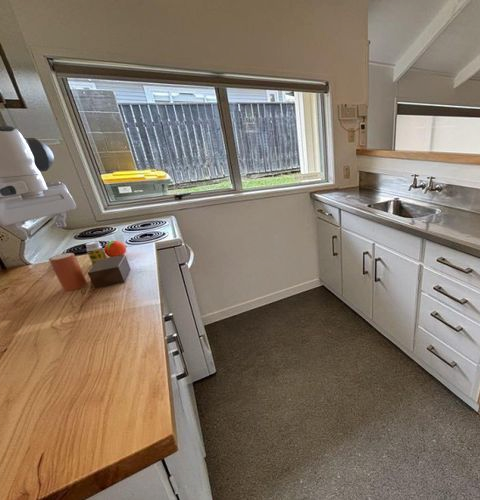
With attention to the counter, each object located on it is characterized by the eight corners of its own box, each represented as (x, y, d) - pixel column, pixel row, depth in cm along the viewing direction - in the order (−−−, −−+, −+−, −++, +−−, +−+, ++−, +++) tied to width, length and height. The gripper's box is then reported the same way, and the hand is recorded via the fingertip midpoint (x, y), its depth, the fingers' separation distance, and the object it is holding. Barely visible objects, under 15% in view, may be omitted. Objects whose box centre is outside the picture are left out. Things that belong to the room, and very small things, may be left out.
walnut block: (94, 289, 92) (87, 272, 90) (104, 274, 102) (97, 259, 99) (124, 282, 95) (118, 266, 93) (130, 269, 105) (125, 254, 103)
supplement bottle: (90, 266, 109) (81, 245, 106) (94, 261, 113) (86, 242, 110) (105, 263, 111) (97, 243, 108) (109, 259, 115) (101, 239, 112)
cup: (44, 261, 86) (70, 257, 89) (52, 255, 91) (76, 251, 94) (60, 292, 90) (84, 287, 93) (67, 285, 95) (89, 280, 98)
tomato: (122, 260, 113) (116, 243, 111) (102, 262, 112) (95, 246, 109) (131, 252, 121) (125, 237, 118) (113, 255, 119) (106, 239, 116)
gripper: (55, 180, 91) (72, 222, 96) (-34, 192, 72) (-6, 243, 77) (71, 180, 90) (88, 221, 95) (-14, 192, 71) (13, 243, 76)
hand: (45, 231), depth 86 cm, fingers open, 8 cm apart
